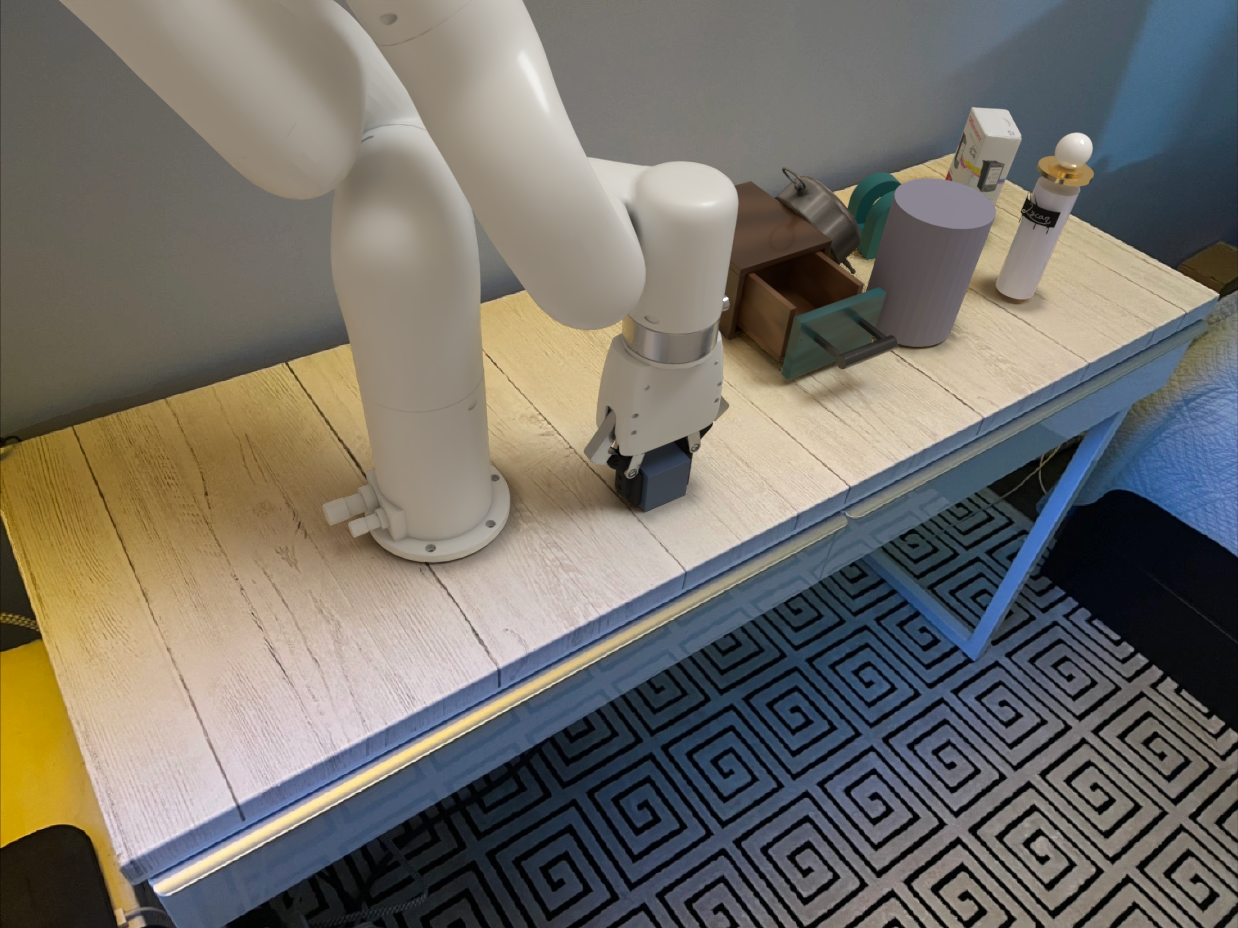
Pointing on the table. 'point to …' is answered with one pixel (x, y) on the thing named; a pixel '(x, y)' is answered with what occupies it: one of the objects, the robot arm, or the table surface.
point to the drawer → (812, 315)
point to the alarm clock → (823, 214)
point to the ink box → (985, 151)
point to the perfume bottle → (1045, 215)
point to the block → (663, 475)
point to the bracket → (872, 209)
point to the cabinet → (763, 244)
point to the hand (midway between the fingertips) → (652, 485)
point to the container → (929, 258)
